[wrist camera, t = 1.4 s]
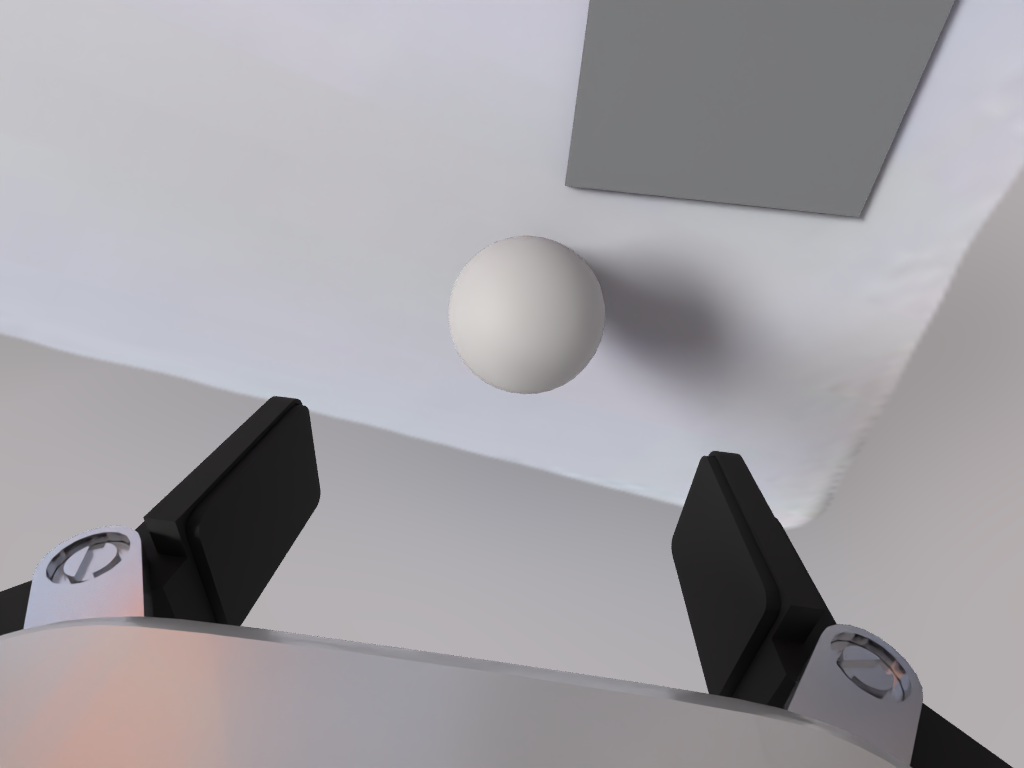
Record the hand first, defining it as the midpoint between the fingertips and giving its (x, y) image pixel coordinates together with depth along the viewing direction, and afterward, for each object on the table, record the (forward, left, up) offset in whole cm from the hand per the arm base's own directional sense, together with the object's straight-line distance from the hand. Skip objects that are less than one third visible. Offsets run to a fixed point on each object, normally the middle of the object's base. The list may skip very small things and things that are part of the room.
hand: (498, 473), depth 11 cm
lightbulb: (-1, 0, -17) cm, 17 cm away
